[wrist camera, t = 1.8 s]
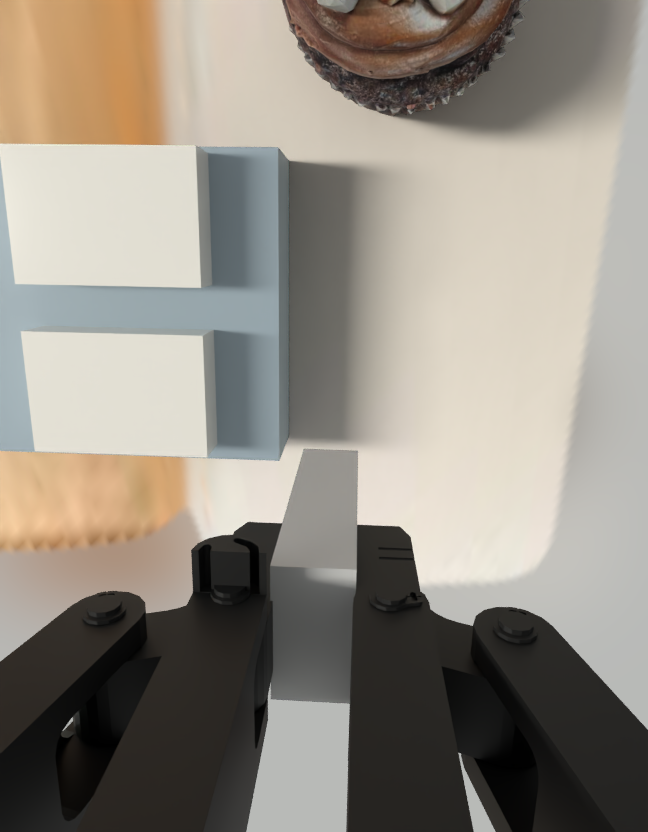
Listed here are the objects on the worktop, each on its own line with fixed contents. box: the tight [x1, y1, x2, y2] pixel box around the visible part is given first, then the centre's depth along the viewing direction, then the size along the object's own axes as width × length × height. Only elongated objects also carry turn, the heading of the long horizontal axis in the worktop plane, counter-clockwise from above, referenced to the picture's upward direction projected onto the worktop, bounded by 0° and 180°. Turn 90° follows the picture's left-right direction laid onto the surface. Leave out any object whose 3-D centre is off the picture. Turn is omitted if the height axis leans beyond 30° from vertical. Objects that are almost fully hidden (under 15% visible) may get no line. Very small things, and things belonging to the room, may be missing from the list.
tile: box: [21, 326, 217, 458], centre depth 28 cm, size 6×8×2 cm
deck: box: [0, 147, 289, 461], centre depth 30 cm, size 14×16×4 cm
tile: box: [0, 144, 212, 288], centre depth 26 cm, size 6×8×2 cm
